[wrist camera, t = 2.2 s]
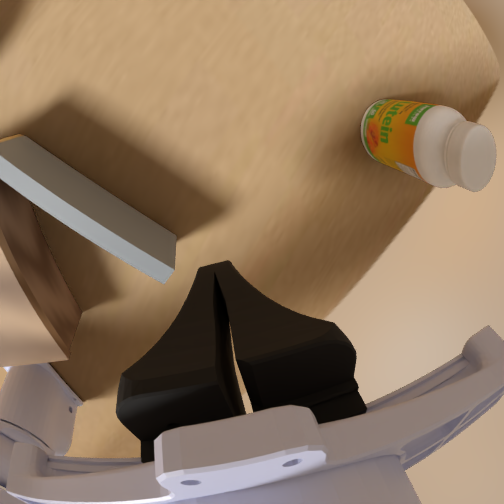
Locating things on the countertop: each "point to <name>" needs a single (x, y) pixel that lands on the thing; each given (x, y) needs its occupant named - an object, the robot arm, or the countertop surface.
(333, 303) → the countertop surface
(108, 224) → the cabinet door
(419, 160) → the supplement bottle
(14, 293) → the walnut cabinet
